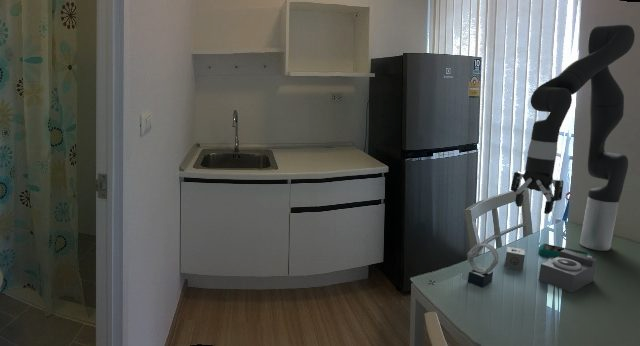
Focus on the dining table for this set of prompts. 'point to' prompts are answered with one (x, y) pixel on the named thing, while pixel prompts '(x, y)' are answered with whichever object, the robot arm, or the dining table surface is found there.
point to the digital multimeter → (556, 251)
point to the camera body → (568, 271)
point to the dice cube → (515, 258)
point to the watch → (479, 274)
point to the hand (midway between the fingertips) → (532, 209)
